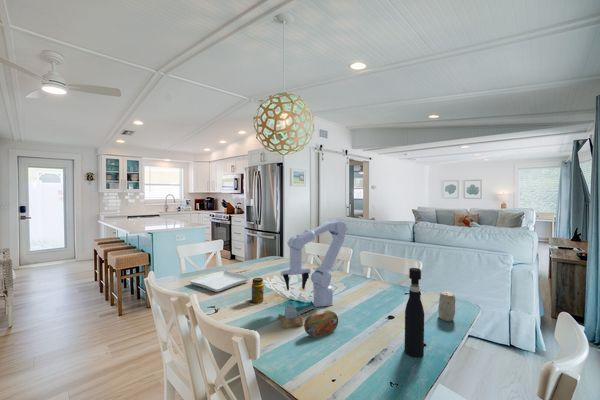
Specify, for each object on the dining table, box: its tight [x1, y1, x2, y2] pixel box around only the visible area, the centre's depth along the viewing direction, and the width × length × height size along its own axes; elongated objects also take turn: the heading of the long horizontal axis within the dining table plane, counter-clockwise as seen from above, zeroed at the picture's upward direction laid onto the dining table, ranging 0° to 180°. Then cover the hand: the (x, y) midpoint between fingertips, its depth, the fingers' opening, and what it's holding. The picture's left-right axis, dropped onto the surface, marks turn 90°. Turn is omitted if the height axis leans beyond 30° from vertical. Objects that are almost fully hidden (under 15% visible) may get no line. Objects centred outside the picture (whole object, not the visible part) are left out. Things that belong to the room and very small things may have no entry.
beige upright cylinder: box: [437, 290, 456, 322], centre depth 128 cm, size 6×8×12 cm
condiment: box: [245, 277, 267, 306], centre depth 147 cm, size 7×8×12 cm
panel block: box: [284, 304, 298, 319], centre depth 125 cm, size 4×7×6 cm, turn 14°
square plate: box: [188, 270, 252, 293], centre depth 176 cm, size 27×27×4 cm
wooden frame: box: [277, 312, 304, 329], centre depth 125 cm, size 9×11×4 cm
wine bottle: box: [404, 267, 425, 359], centre depth 101 cm, size 6×6×30 cm
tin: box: [303, 310, 339, 338], centre depth 115 cm, size 15×3×8 cm, turn 117°
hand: (295, 289), depth 138 cm, fingers open, 7 cm apart
